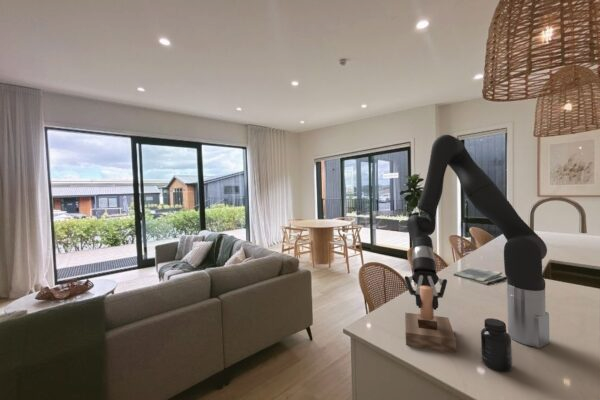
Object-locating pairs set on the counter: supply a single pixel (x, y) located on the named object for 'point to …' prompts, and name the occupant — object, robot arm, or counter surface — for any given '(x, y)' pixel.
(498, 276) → the dish towel
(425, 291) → the pin
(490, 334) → the supplement bottle
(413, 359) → the counter surface
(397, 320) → the counter surface
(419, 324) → the socket block
